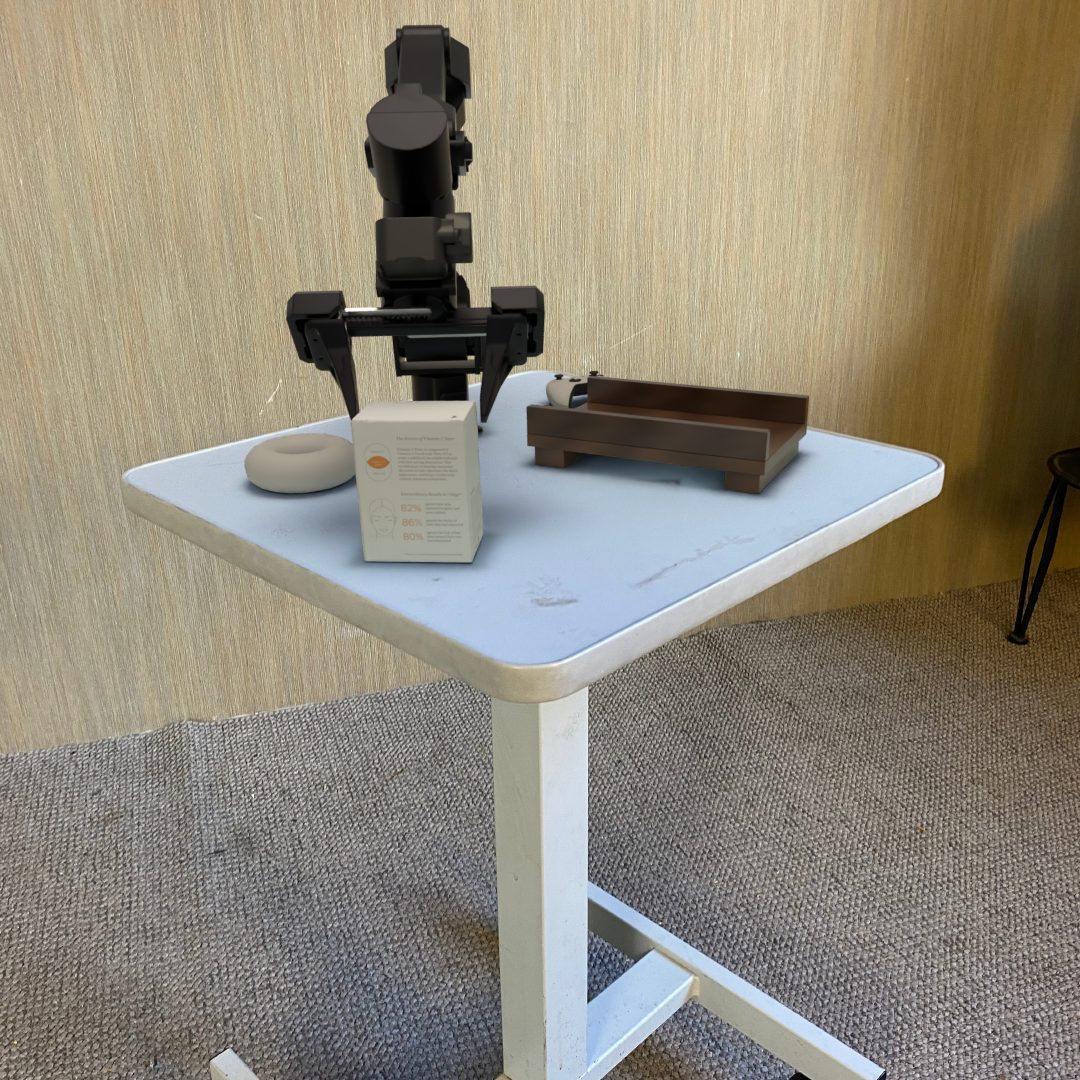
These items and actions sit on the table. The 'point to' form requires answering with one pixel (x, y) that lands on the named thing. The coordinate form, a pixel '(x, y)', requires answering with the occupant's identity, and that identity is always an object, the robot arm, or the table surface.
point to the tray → (675, 428)
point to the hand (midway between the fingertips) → (419, 421)
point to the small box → (418, 480)
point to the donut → (301, 463)
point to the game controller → (567, 389)
